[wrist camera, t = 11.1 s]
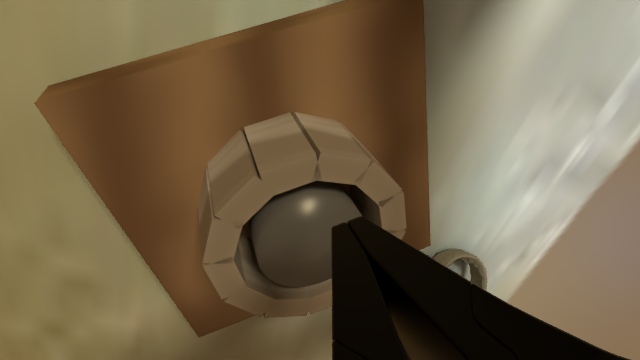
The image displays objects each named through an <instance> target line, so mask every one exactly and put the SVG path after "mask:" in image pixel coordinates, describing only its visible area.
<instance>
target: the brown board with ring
mask: <svg viewBox="0 0 640 360" xmlns="http://www.w3.org/2000/svg"><path fill="white" fill-rule="evenodd" d="M34 104H35V105H36V107H37V108H38V109H39V111H40V112H41V114H42V115H43V117H44V118H45V119H46V121H47V122H48V124H49V125H50V126H51V128H52V129H53V131H54V132H55V134H56V135H57V136H58V138H59V139H60V141H61V142H62V144H63V145H64V146H65V148H66V149H67V151H68V152H69V153H70V155H71V156H72V158H73V159H74V161H75V162H76V163H77V165H78V166H79V168H80V169H81V170H82V172H83V173H84V175H85V176H86V178H87V179H88V180H89V182H90V183H91V185H92V186H93V188H94V189H95V190H96V192H97V193H98V195H99V196H100V197H101V199H102V200H103V202H104V203H105V205H106V206H107V207H108V209H109V210H110V212H111V213H112V214H113V216H114V217H115V219H116V220H117V222H118V223H119V224H120V226H121V227H122V229H123V230H124V231H125V233H126V234H127V236H128V237H129V239H130V240H131V241H132V243H133V244H134V246H135V247H136V249H137V250H138V251H139V253H140V254H141V256H142V257H143V258H144V260H145V261H146V263H147V264H148V266H149V267H150V268H151V270H152V271H153V273H154V274H155V275H156V277H157V278H158V280H159V281H160V283H161V284H162V285H163V287H164V288H165V290H166V291H167V293H168V294H169V295H170V297H171V298H172V300H173V301H174V302H175V304H176V305H177V307H178V308H179V310H180V311H181V312H182V314H183V315H184V317H185V318H186V319H187V321H188V322H189V324H190V325H191V327H192V328H193V329H194V331H195V332H196V334H197V335H198V336H199V337H201V336H204V335H206V334H209V333H211V332H214V331H216V330H219V329H221V328H224V327H226V326H229V325H232V324H234V323H237V322H239V321H242V320H244V319H247V318H249V317H252V316H254V315H257V316H259V317H261V316H262V315H264V317H285V316H306V315H307V313H308V310H309V312H310V315H311V314H313V313H316V312H318V311H320V310H323V309H325V308H328V307H330V306H332V278H331V279H329V280H326V281H324V282H321V283H318V284H315V285H310V286H303V287H292V286H285V285H281V284H278V283H276V282H274V281H272V280H270V279H269V278H268V277H267V276H266V275H265V274H264V273H263V272H262V270H261V269H260V267H259V264H258V261H257V257H256V253H255V249H254V245H253V241H252V237H251V233H250V229H249V225H248V220H249V219H250V218H251V217H252V216H253V215H254V214H255V213H256V212H257V211H258V210H259V209H260V208H261V207H262V206H263V205H264V204H265V203H267V202H268V201H269V200H270V199H271V198H272V197H273V196H274V195H277V194H280V193H283V192H285V191H288V190H291V189H294V188H297V187H299V186H302V185H305V184H308V183H311V182H314V181H316V180H317V181H326V182H334V183H341V184H342V186H343V187H344V189H345V190H346V192H347V193H348V195H349V196H350V198H351V200H352V201H353V203H354V204H355V206H356V207H357V209H358V210H359V212H360V213H361V215H362V217H364V218H366V219H368V220H369V221H371V222H373V223H374V224H376V225H378V226H379V227H381V228H383V229H384V230H386V231H387V232H389V233H391V234H392V235H394V236H396V237H397V238H399V239H401V240H402V241H404V242H406V243H407V244H409V245H411V246H412V247H414V248H416V249H417V250H420V249H423V248H425V247H428V246H430V216H429V181H428V147H427V113H426V79H425V44H424V10H423V0H345V1H341V2H338V3H335V4H331V5H328V6H324V7H321V8H317V9H314V10H310V11H307V12H303V13H300V14H296V15H293V16H289V17H286V18H282V19H279V20H276V21H272V22H269V23H265V24H262V25H258V26H255V27H251V28H248V29H244V30H241V31H237V32H234V33H230V34H227V35H223V36H220V37H216V38H213V39H210V40H206V41H203V42H199V43H196V44H192V45H189V46H185V47H182V48H178V49H175V50H171V51H168V52H164V53H161V54H157V55H154V56H151V57H147V58H144V59H140V60H137V61H133V62H130V63H126V64H123V65H119V66H116V67H112V68H109V69H105V70H102V71H98V72H95V73H92V74H88V75H85V76H81V77H78V78H74V79H71V80H67V81H64V82H60V83H57V84H53V85H50V86H48V87H47V89H46V90H45V91H44V92H43V93H42V95H41V96H40V97H39V98H38V100H37V101H36V102H35V103H34Z"/></svg>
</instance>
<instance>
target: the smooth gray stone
mask: <svg viewBox="0 0 640 360" xmlns="http://www.w3.org/2000/svg"><path fill="white" fill-rule="evenodd" d="M359 216H362V215H361V213H360V212H359V210H358V209H357V207H356V206H355V204H354V203H353V201H352V200H351V198H350V196H349V195H348V193H347V192H346V190H345V189H344V187H343V186H342V184H341V183H334V182H326V181H317V180H316V181H314V182H311V183H308V184H305V185H302V186H299V187H297V188H294V189H291V190H288V191H285V192H283V193H280V194H277V195H274V196H273V197H272V198H271V199H270V200H269V201H268V202H267V203H265V204H264V205H263V206H262V207H261V208H260V209H259V210H258V211H257V212H256V213H255V214H254V215H253V216H252V217H251V218H250V219H249V220H248V225H249V229H250V233H251V237H252V241H253V245H254V249H255V253H256V257H257V261H258V264H259V267H260V269H261V270H262V272H263V273H264V274H265V275H266V276H267V277H268V278H269V279H270V280H272V281H274V282H276V283H278V284H281V285H285V286H292V287H303V286H310V285H315V284H318V283H321V282H324V281H326V280H329V279H331V278H332V252H331V228H332V227H333V226H335V225H338V224H340V223H343V222H346V223H347V222H348V221H349V220H351V219H353V218H356V217H359Z"/></svg>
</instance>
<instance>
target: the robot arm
mask: <svg viewBox="0 0 640 360" xmlns="http://www.w3.org/2000/svg"><path fill="white" fill-rule="evenodd" d="M331 252H332V340H333V343H332V360H408V359H407V357H406V354H405V352H404V349H403V346H402V344H401V342H402V343H403V345H404V347H405V348H406V350H407V351H408V353H409V355H410V356H411V358H412V360H630V359H627V358H624V357H621V356H618V355H615V354H613V353H610V352H607V351H605V350H602V349H601V348H598V347H596V346H594V345H592V344H590V343H588V342H586V341H583V340H581V339H579V338H577V337H575V336H573V335H571V334H569V333H567V332H565V331H563V330H561V329H559V328H556V327H554V326H552V325H550V324H548V323H546V322H544V321H542V320H539V319H538V318H536V317H534V316H532V315H530V314H527V313H526V312H524V311H522V310H520V309H518V308H516V307H514V306H512V305H510V304H508V303H506V302H505V301H503V300H501V299H499V298H498V297H496V296H494V295H492V294H491V293H489V292H487V291H485V290H484V289H482V288H480V287H479V286H477V285H476V284H474V283H473V284H471V282H470V281H469V280H467V279H465V278H464V277H462V276H460V275H459V274H457V273H455V272H454V271H452V270H450V269H449V268H447V267H445V266H444V265H442V264H441V263H439V262H437V261H436V260H434V259H432V258H431V257H429V256H427V255H426V254H424V253H422V252H421V251H419V250H417V249H416V248H414V247H412V246H411V245H409V244H407V243H406V242H404V241H402V240H401V239H399V238H397V237H396V236H394V235H392V234H391V233H389V232H387V231H386V230H384V229H383V228H381V227H379V226H378V225H376V224H374V223H373V222H371V221H369V220H368V219H366V218H364V217H362V216H359V217H356V218H353V219H351V220H349V221H348V222H347V223H346V222H343V223H340V224H338V225H335V226H333V227H332V228H331ZM399 338H400V339H399ZM400 340H401V341H400Z"/></svg>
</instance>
